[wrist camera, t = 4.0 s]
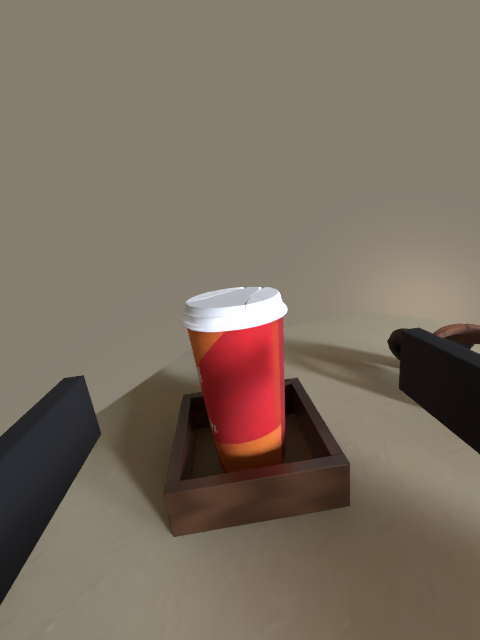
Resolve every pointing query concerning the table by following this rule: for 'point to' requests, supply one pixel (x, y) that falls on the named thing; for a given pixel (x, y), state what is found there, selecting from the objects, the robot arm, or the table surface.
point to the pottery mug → (443, 336)
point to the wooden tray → (254, 475)
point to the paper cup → (241, 372)
